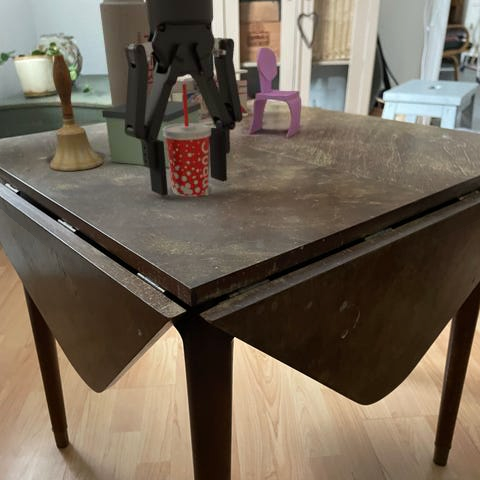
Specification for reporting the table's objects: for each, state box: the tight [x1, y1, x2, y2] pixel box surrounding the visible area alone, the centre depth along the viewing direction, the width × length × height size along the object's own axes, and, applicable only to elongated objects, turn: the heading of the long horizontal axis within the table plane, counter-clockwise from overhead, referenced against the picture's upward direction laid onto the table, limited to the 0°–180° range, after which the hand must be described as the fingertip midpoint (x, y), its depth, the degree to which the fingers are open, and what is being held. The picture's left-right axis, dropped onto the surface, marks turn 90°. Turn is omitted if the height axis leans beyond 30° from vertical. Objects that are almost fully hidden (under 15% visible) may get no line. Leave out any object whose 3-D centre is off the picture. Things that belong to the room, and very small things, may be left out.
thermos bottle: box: [99, 0, 155, 108], centre depth 94 cm, size 8×8×28 cm
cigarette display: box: [168, 68, 249, 125], centre depth 116 cm, size 20×6×9 cm, turn 136°
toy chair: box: [247, 46, 302, 139], centre depth 102 cm, size 8×9×15 cm
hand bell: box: [49, 54, 103, 172], centre depth 83 cm, size 8×8×16 cm
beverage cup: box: [162, 84, 212, 197], centre depth 68 cm, size 6×6×14 cm
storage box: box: [101, 100, 201, 169], centre depth 89 cm, size 12×12×8 cm
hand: (190, 185), depth 71 cm, fingers open, 9 cm apart
